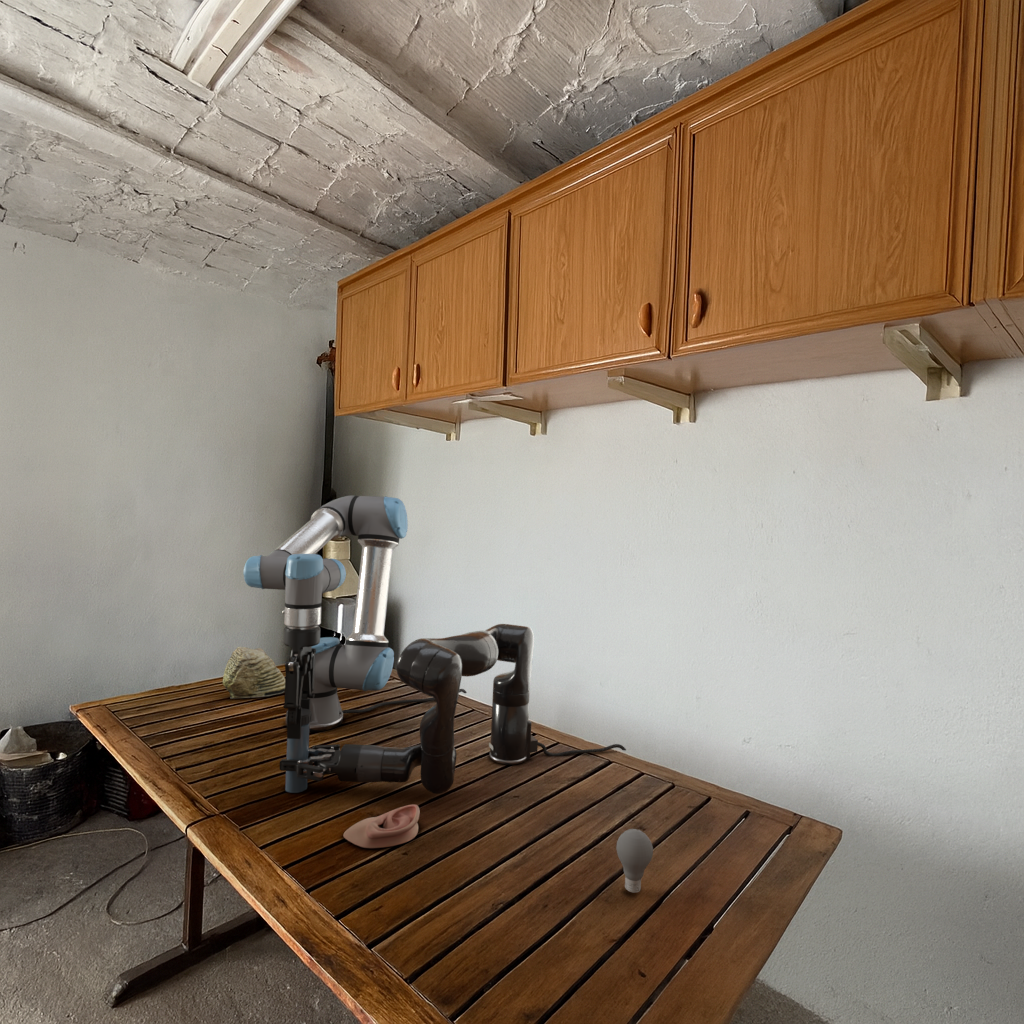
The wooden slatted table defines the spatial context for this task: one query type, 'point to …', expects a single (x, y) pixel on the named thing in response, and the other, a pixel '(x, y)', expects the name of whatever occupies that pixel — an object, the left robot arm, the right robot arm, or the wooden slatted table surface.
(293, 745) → the blue-grey cylindrical bottle
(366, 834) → the anatomical model
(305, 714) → the lid
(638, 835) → the light bulb
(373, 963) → the wooden slatted table surface
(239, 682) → the fossil
